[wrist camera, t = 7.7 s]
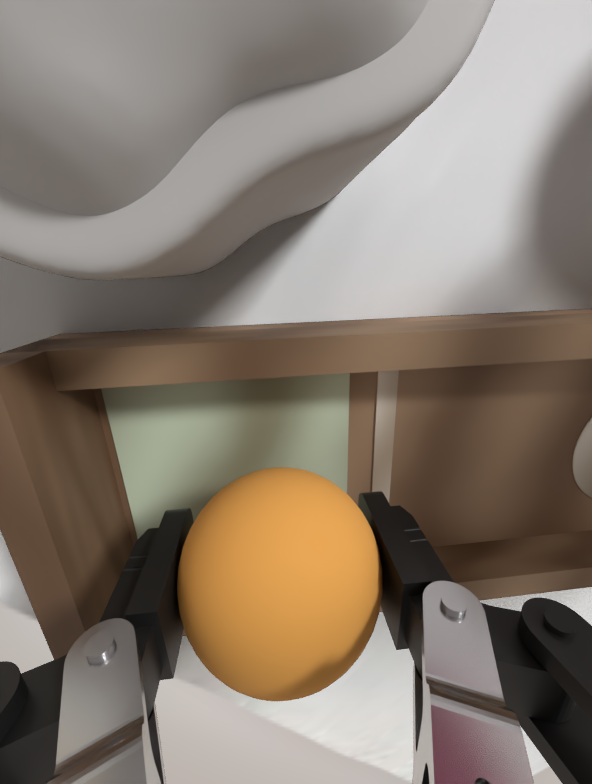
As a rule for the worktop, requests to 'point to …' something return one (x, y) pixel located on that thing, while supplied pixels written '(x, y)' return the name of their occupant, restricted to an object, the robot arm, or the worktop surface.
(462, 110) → the worktop surface
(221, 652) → the ball
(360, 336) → the wooden tray
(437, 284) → the worktop surface
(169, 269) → the lumpy-topped squat cylinder
